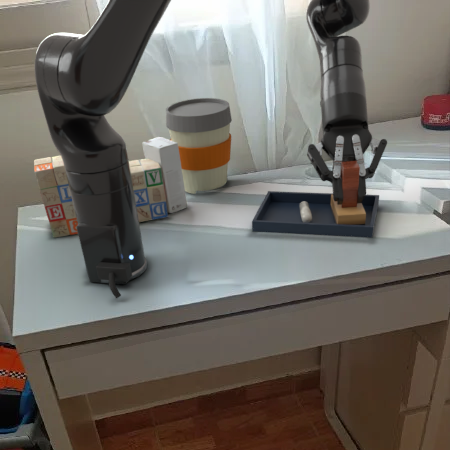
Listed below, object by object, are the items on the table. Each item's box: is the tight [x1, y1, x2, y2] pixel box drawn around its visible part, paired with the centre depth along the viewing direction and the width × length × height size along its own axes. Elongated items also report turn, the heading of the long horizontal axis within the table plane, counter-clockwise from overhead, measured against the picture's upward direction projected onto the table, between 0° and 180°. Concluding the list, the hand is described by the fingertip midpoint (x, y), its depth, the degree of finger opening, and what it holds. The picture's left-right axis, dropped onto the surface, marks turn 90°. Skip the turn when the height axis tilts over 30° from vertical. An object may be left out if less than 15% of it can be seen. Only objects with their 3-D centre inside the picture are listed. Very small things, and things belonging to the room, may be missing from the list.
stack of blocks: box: [33, 154, 169, 239], centre depth 109 cm, size 21×6×12 cm, turn 104°
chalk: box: [299, 201, 312, 223], centre depth 106 cm, size 7×2×2 cm, turn 0°
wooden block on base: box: [330, 161, 366, 225], centre depth 102 cm, size 9×5×9 cm, turn 0°
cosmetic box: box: [141, 136, 188, 214], centre depth 112 cm, size 6×4×12 cm
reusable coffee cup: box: [165, 97, 233, 195], centre depth 119 cm, size 13×13×15 cm
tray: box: [251, 190, 380, 239], centre depth 106 cm, size 13×20×3 cm, turn 75°
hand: (350, 201), depth 101 cm, fingers closed on wooden block on base, 2 cm apart
